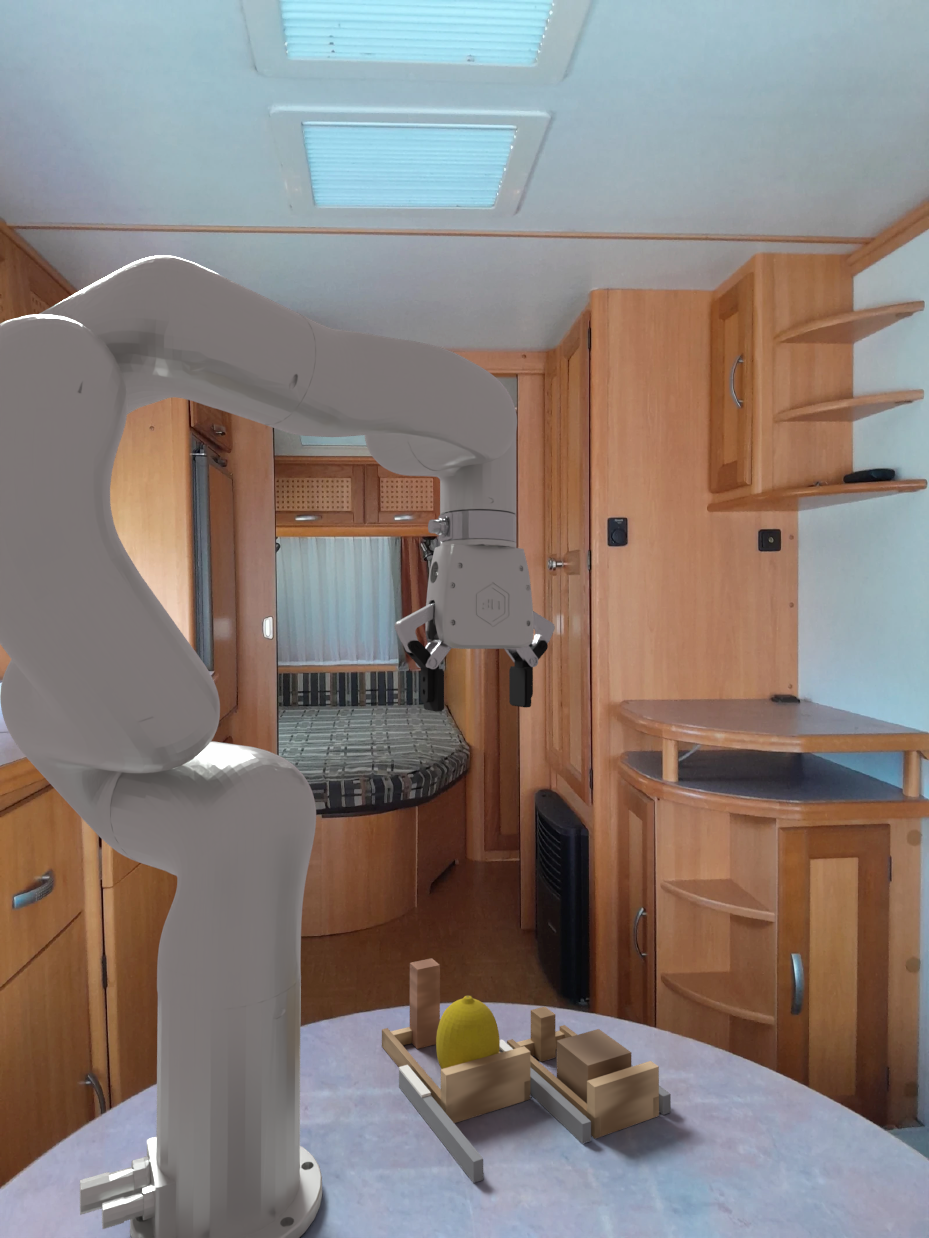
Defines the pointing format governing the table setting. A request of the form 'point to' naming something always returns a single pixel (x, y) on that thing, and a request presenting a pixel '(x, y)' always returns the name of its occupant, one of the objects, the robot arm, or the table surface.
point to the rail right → (664, 1101)
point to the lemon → (466, 1033)
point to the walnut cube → (589, 1059)
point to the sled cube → (596, 1081)
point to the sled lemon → (466, 1083)
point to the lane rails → (456, 1139)
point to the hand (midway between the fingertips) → (478, 708)
